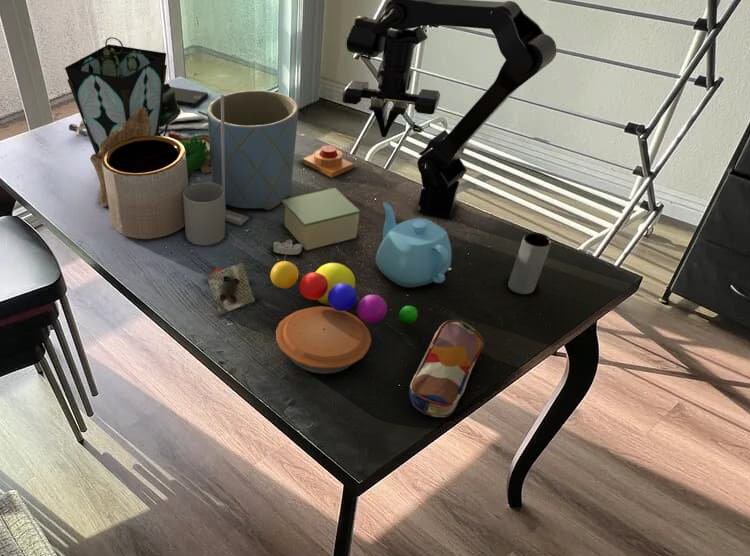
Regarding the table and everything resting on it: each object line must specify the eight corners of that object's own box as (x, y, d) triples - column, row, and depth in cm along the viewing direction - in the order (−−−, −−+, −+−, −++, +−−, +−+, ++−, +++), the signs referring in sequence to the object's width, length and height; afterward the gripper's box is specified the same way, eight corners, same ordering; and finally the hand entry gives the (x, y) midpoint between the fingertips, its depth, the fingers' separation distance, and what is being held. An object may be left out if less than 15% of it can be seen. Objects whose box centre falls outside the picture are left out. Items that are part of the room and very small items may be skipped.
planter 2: (198, 207, 152) (194, 121, 139) (225, 169, 165) (224, 86, 151) (280, 220, 146) (284, 131, 133) (302, 178, 159) (308, 94, 145)
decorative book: (143, 158, 167) (143, 139, 164) (202, 145, 175) (203, 126, 171) (170, 182, 159) (171, 162, 156) (231, 167, 167) (233, 148, 163)
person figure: (121, 141, 180) (120, 129, 178) (66, 142, 181) (64, 130, 179) (126, 125, 189) (125, 113, 187) (73, 125, 190) (71, 114, 188)
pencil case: (419, 307, 112) (410, 328, 115) (411, 395, 99) (402, 416, 103) (488, 322, 110) (477, 343, 114) (489, 414, 97) (476, 434, 101)
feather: (143, 127, 157) (150, 124, 156) (189, 128, 182) (195, 125, 181) (146, 134, 157) (153, 131, 157) (191, 134, 182) (197, 131, 181)
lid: (304, 226, 133) (304, 224, 133) (282, 202, 141) (282, 199, 140) (359, 213, 136) (360, 210, 135) (334, 190, 143) (335, 187, 143)
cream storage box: (306, 250, 137) (308, 226, 133) (284, 225, 145) (285, 201, 141) (356, 237, 140) (359, 213, 136) (332, 213, 147) (334, 190, 143)
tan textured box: (206, 275, 122) (193, 279, 127) (219, 314, 123) (206, 316, 128) (242, 262, 125) (228, 266, 130) (255, 300, 126) (240, 302, 131)
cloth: (127, 114, 192) (126, 106, 191) (165, 100, 198) (165, 92, 197) (184, 143, 177) (183, 134, 175) (224, 126, 182) (223, 118, 181)
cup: (230, 228, 145) (230, 186, 139) (216, 248, 140) (215, 205, 133) (195, 221, 148) (192, 179, 142) (179, 240, 143) (176, 198, 136)
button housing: (353, 168, 161) (354, 156, 159) (331, 177, 159) (332, 165, 157) (323, 154, 168) (324, 142, 165) (302, 163, 165) (303, 151, 163)
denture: (176, 146, 178) (150, 152, 174) (175, 129, 176) (149, 136, 172) (188, 150, 174) (162, 157, 170) (187, 134, 172) (161, 140, 168)
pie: (388, 355, 113) (392, 332, 109) (320, 397, 107) (323, 375, 103) (322, 311, 123) (324, 289, 119) (257, 347, 116) (257, 325, 113)
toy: (207, 215, 155) (235, 163, 144) (177, 220, 150) (203, 167, 139) (170, 166, 161) (193, 112, 150) (139, 169, 156) (162, 114, 145)
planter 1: (202, 204, 152) (198, 138, 142) (173, 247, 141) (166, 180, 130) (131, 194, 158) (122, 131, 147) (98, 236, 147) (85, 170, 136)
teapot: (409, 190, 131) (479, 232, 119) (400, 237, 138) (465, 281, 126) (357, 209, 127) (424, 254, 115) (350, 256, 135) (413, 303, 123)
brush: (211, 83, 134) (252, 93, 129) (214, 206, 152) (249, 218, 148) (200, 90, 132) (241, 99, 127) (204, 214, 150) (239, 226, 146)
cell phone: (194, 106, 194) (194, 103, 193) (140, 97, 200) (140, 94, 200) (208, 95, 199) (208, 92, 199) (155, 87, 206) (155, 84, 205)
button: (339, 155, 161) (340, 148, 160) (328, 160, 159) (329, 153, 158) (328, 150, 163) (329, 143, 162) (317, 155, 162) (318, 148, 161)
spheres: (285, 282, 130) (260, 292, 115) (299, 245, 128) (275, 250, 113) (411, 332, 122) (401, 349, 108) (428, 293, 120) (421, 305, 105)
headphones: (187, 144, 171) (134, 148, 185) (199, 93, 171) (145, 101, 185) (151, 122, 161) (98, 129, 175) (163, 68, 161) (109, 79, 175)
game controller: (299, 243, 139) (299, 232, 137) (309, 276, 131) (310, 265, 129) (271, 245, 139) (272, 234, 138) (279, 278, 131) (280, 267, 129)
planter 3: (536, 295, 122) (554, 247, 115) (509, 293, 123) (525, 245, 116) (532, 280, 125) (549, 232, 118) (506, 278, 126) (521, 231, 119)
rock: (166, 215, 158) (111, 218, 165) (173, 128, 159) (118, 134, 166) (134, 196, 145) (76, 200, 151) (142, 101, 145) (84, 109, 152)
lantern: (173, 155, 172) (164, 30, 152) (136, 184, 162) (121, 54, 142) (121, 143, 179) (105, 22, 159) (82, 170, 169) (60, 44, 149)
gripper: (452, 53, 136) (436, 127, 147) (360, 43, 143) (351, 115, 153) (442, 72, 129) (425, 149, 140) (346, 62, 136) (337, 136, 146)
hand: (384, 136), depth 145 cm, fingers closed
